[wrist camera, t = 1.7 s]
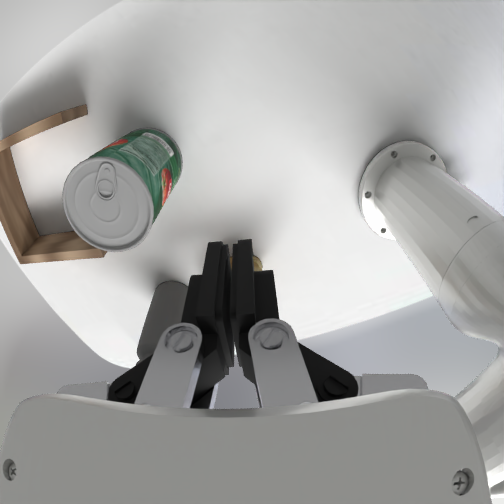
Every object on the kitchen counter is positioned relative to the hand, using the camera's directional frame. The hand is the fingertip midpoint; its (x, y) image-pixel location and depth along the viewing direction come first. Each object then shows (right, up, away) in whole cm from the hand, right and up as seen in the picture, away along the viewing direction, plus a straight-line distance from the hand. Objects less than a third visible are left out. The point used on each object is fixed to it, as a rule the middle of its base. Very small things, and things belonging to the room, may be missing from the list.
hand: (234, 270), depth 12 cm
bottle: (-10, -5, +27) cm, 29 cm away
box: (-23, +9, +16) cm, 30 cm away
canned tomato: (-10, +10, +16) cm, 22 cm away
